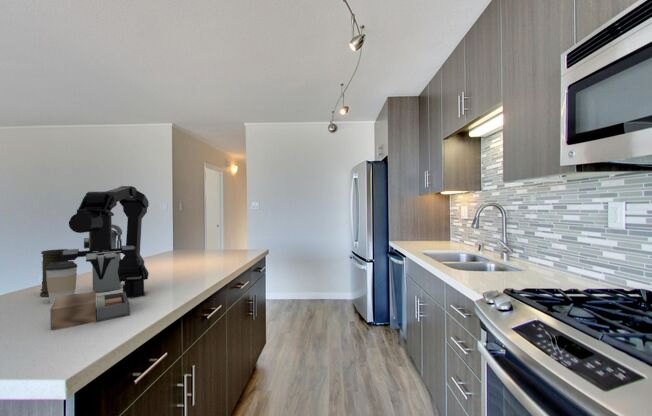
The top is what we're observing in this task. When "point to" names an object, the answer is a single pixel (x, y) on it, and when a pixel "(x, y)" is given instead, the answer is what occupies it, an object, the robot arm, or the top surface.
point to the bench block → (73, 310)
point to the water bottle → (109, 267)
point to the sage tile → (100, 301)
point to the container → (48, 258)
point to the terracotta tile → (113, 301)
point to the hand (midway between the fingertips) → (101, 279)
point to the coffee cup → (61, 279)
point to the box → (114, 308)
